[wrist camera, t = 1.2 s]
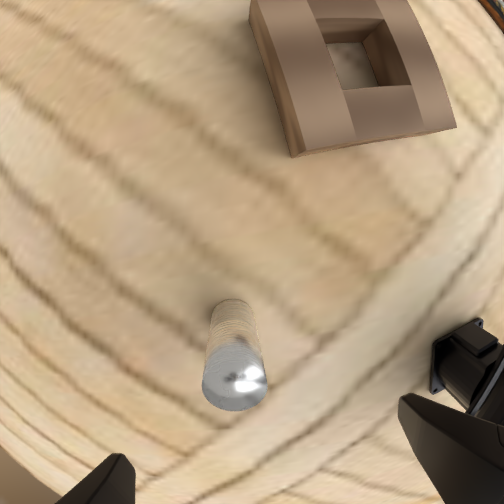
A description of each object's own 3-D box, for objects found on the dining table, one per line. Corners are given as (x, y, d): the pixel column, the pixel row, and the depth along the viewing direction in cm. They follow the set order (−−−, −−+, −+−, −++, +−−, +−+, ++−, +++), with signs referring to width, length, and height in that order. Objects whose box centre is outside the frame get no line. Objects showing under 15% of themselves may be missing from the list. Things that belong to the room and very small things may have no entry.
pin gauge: (259, 332, 21) (273, 403, 13) (218, 342, 21) (213, 416, 13) (248, 294, 20) (258, 354, 13) (206, 305, 20) (192, 369, 13)
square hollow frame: (424, 134, 19) (456, 127, 15) (291, 158, 19) (306, 149, 15) (380, 13, 17) (401, -10, 13) (248, 19, 17) (252, -12, 13)
